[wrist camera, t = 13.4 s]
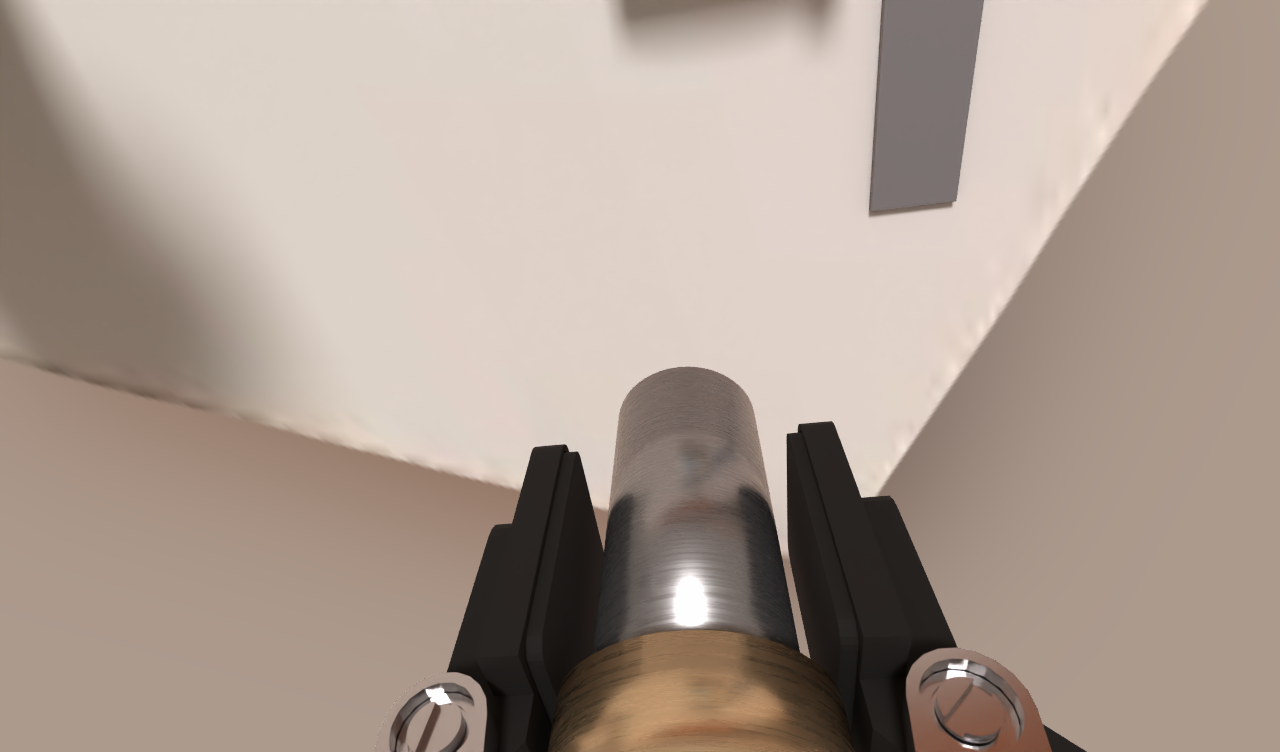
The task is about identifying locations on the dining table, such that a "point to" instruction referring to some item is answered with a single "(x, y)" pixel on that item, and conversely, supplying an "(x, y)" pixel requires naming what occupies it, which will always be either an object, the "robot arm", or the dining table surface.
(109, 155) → the dining table surface
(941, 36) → the strip
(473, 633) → the robot arm
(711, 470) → the knob
